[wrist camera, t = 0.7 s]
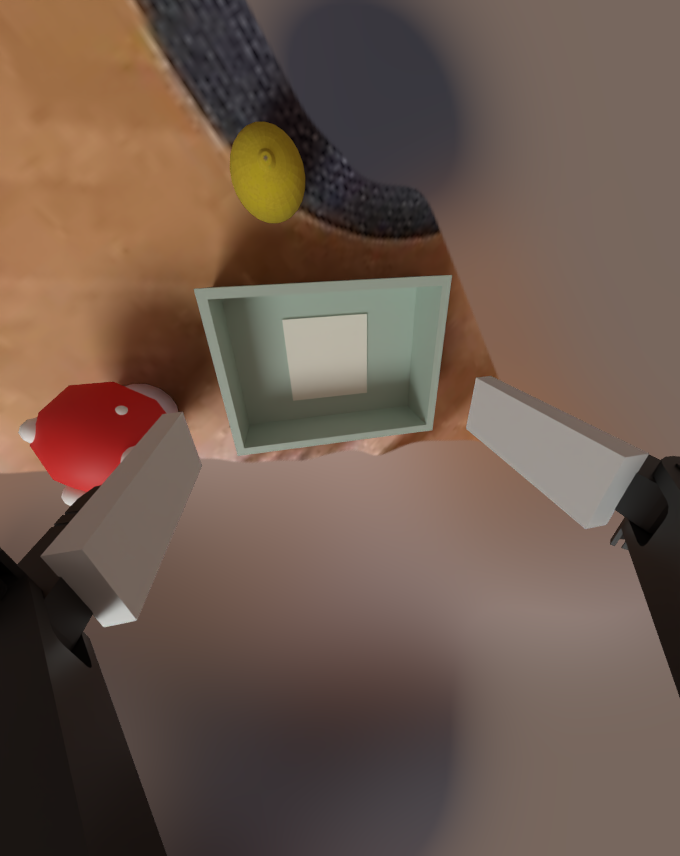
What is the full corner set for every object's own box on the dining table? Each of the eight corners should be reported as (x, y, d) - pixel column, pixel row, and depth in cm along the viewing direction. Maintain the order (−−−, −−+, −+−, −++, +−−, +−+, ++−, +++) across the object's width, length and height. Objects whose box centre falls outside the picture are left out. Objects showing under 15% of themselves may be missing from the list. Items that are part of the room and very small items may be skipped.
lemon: (283, 137, 23) (283, 77, 16) (312, 214, 26) (322, 190, 19) (224, 168, 24) (200, 121, 17) (259, 241, 26) (250, 226, 19)
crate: (212, 287, 27) (193, 288, 22) (420, 276, 30) (451, 275, 25) (245, 427, 35) (237, 455, 29) (409, 407, 38) (432, 430, 32)
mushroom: (93, 442, 32) (3, 520, 22) (83, 349, 28) (-37, 391, 17) (194, 455, 35) (157, 528, 25) (199, 372, 31) (157, 419, 20)
